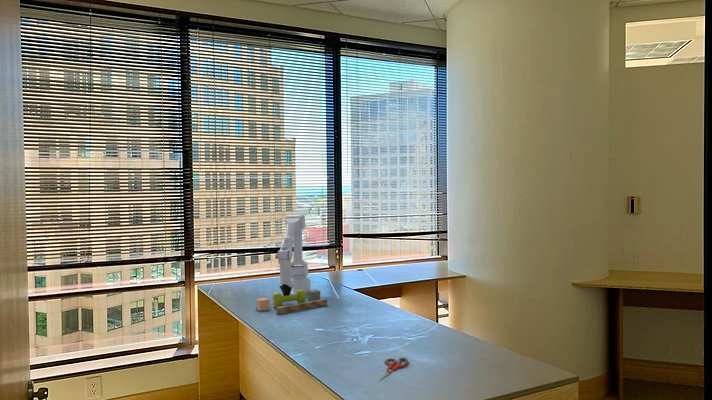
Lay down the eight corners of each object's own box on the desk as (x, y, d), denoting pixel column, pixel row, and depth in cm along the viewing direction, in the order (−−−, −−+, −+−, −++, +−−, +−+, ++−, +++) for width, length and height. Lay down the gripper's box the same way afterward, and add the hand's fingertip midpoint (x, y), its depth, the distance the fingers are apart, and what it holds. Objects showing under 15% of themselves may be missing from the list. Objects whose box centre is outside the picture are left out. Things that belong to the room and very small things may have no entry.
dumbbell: (303, 301, 253) (302, 287, 253) (307, 304, 246) (307, 290, 246) (271, 306, 247) (270, 291, 246) (275, 309, 239) (275, 294, 239)
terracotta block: (265, 307, 243) (265, 297, 243) (269, 309, 239) (269, 299, 239) (256, 309, 241) (255, 299, 241) (260, 311, 236) (259, 300, 236)
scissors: (372, 385, 143) (372, 380, 143) (386, 360, 164) (386, 356, 164) (398, 387, 141) (398, 382, 141) (409, 361, 162) (409, 357, 162)
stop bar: (325, 304, 244) (325, 298, 244) (327, 305, 242) (327, 299, 242) (276, 313, 230) (276, 307, 230) (278, 314, 228) (278, 308, 228)
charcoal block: (316, 298, 259) (315, 289, 258) (320, 300, 254) (320, 290, 254) (307, 300, 256) (307, 290, 256) (312, 302, 252) (311, 292, 251)
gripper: (272, 271, 255) (273, 298, 255) (284, 275, 243) (285, 302, 243) (285, 270, 259) (286, 296, 259) (297, 273, 246) (298, 300, 247)
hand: (286, 299), depth 251 cm, fingers closed
